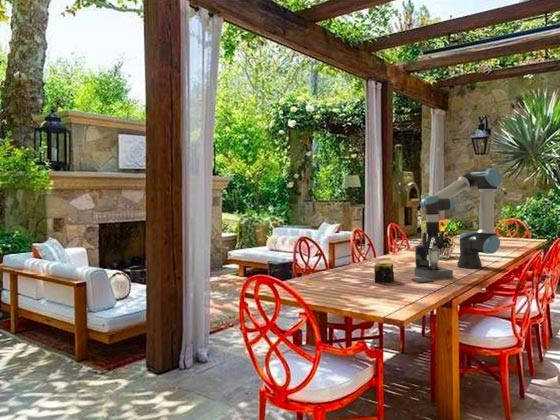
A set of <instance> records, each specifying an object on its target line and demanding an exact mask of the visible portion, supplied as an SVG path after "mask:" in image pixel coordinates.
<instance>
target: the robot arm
mask: <svg viewBox="0 0 560 420" xmlns="http://www.w3.org/2000/svg"><path fill="white" fill-rule="evenodd" d="M502 179H503V176H502V174H501V172H500V171H499V170H498V169H496V168H491V167H489V168H476V169H472V170H469V171H467V172H466V173H464V174H463V175H461V176H459V177H458V178H457V179H456V180H455V181H454V182H453V183H452V182H451V183H450V184H449V185H447V186H446V187H444V188H443V189H441V190H440V191H438V192H436V193H434V194H432V195H427V196H425V198H422V199H421V200H420V207H421V209H422V210H424V211H425V221H426V222H425V228H426V229H425V231H423V232H421V235H422V241H421V242H422V243H421V244H422V248H424V249H425V250H426V255H427V260H429V261H430V250H429V247H431V243H432V239H433V238H434V241H435V244H436V247H438V261H439V260H441V253H442V249H443V248H444V247H445V244H444V233H445V232H444V231H443V230H440V222H439V221H440V212H445V211H446V212H447V211H448V212H449V211H452V210H454V209H455V207H456V202H455V200H454V199H453V198H454V197H455V196H456V195H459V194H460V193H461V192H464V191H467V190H469V189H471V188H477V191H478V192H479V217H478V218H479V220H478V222H479V223H478V227H479V228H478V230H477V231H473V232H462V233H460V235H459V257H458V260H457V265H456V266H457V267H458V268H463V269H480V268H483V266H482V261H481V258H480V255H479V254H480V253H481V254H485V255H487V254H488V255H489V254H491V255H493V254H495V253H496V252H498V251H499V248H500V247H501V239H500V238H499V236H498V235H497V231H495V224H494V223H495V196H496V195H495V193H496V192H497V191H498V187H499V186H500V185H501V184H502V182H503V180H502Z"/></svg>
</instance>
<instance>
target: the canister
mask: <svg viewBox="0 0 560 420" xmlns="http://www.w3.org/2000/svg"><path fill="white" fill-rule="evenodd" d="M414 248H415V249H414V250H415V251H414V254H415V268H422V267H429V260H427V255H426V250H425V249H424V248H422V243H421V244H419V245H415V247H414Z"/></svg>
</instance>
